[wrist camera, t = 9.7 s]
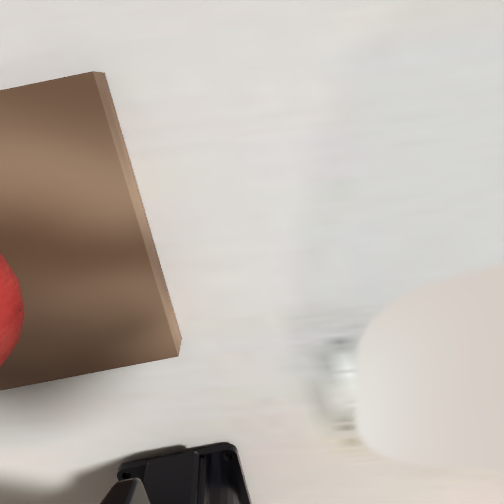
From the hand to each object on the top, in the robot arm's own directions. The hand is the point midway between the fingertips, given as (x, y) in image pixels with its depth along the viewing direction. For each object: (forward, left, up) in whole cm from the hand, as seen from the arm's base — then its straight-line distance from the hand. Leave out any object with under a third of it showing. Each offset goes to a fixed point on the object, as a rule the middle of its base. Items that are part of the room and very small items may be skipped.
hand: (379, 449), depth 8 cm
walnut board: (+2, +13, -12) cm, 18 cm away
